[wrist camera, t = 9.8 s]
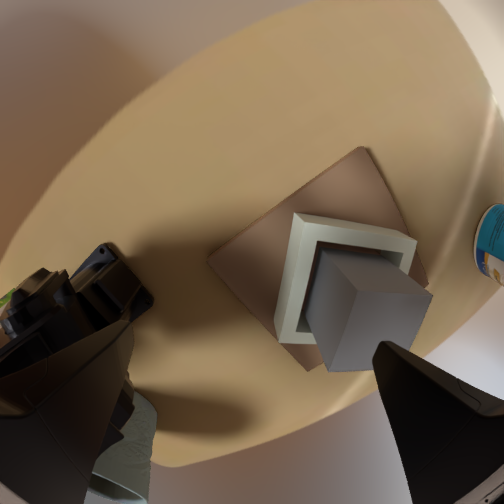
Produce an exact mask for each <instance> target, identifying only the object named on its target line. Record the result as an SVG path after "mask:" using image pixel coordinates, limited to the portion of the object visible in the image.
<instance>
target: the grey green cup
mask: <svg viewBox="0 0 504 504" xmlns="http://www.w3.org/2000/svg"><path fill="white" fill-rule="evenodd" d="M133 404H134V405H135V410H134V412H133V414H132V416H131V418H130V420H129V421H128V422H127V424H126V425H125V426H124V428H123V429H122V430H121V431H120V432H121V433H122V434H124V438H123V439H122V440H121V441H119V442H117V443H115V444H113V445H112V446H110V447H109V448H108V449H107V450H105V451H104V452H103V453H102V454H101V455H100V456H99V457H98V458H97V460H96V462H95V465H94V468H93V471H92V475H91V478H90V481H89V485H88V489H87V491H89V492H91V493H94V494H96V495H98V496H101V497H103V498H106V499H109V500H112V501H115V502H119V503H123V504H147V503H148V495H149V483H150V469H151V466H150V462H151V461H150V458H151V455H152V445H153V438H154V435H155V431H156V423H157V412H156V410H155V409H154V407H153V406H152V404H151V403H150V402H149V401H148V400H147V399H145V397H143V396H142V395H140V394H139V393H138V392H136V391H134V397H133Z"/></svg>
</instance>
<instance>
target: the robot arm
mask: <svg viewBox="0 0 504 504" xmlns="http://www.w3.org/2000/svg"><path fill="white" fill-rule="evenodd" d="M102 248H103V249H104V250H105V252H103V251H102ZM68 277H69V275H68V273H67V271H66V269H64V270H62V271H60V272H58V271H55V272H53V273H52V272H49V271H48V270H46V269H45V268H41V269H39V270H38V271H36V272H35V273H33V274H32V275H31V276H29V277H28V278H26V279H25V280H24V281H23V282H22V283H21V284H20V285H19V286H18V287H17V288H16V289H15V290H14V291H13V292H12V295H11V300H10V301H9V302H8V303H7V305H6V306H5V308H4V310H3V312H2V314H1V316H0V324H1V326H2V328H1V329H0V504H84V500H85V496H86V492H87V489H88V485H89V481H90V478H91V475H92V471H93V468H94V465H95V462H96V460H97V458H98V457H99V456H100V455H101V454H102V453H103V452H104V451H105V450H107V449H108V448H109V447H110V446H112V445H113V444H115V443H117V442H119V441H121V440H122V439H123V438H124V434H122V433H121V432H120V431H121V430H122V429H123V428H124V426H125V425H126V424H127V422H128V421H129V420H130V418H131V416H132V414H133V412H134V410H135V405H134V404H133V397H134V388H133V385H132V382H131V381H130V379H129V373H128V372H127V369H128V365H129V362H130V358H131V354H132V351H133V347H134V336H133V327H132V323H131V322H133V321H134V320H135V319H136V318H138V317H139V316H140V315H141V314H143V313H144V312H145V311H147V310H148V309H149V308H150V307H152V305H153V304H154V298H153V296H152V295H151V294H150V293H149V292H148V291H147V290H146V289H145V288H144V287H143V286H142V285H141V282H140V281H139V280H138V279H137V277H136V276H135V275H134V274H133V273H132V272H131V271H130V270H129V268H128V267H127V266H126V265H125V264H124V263H123V262H122V260H119V259H118V257H117V256H116V255H115V254H114V253H113V251H112V250H111V249H110V248H109V247H108V245H106V244H101V245H99V246H98V247H97V248H96V249H95V250H94V251H93V253H92V254H91V255H90V256H89V257H88V258H87V259H86V260H85V261H84V263H83V264H82V265H81V266H80V267H79V268H78V269H77V271H76V272H75V273H74V274H73V275H72V277H71V278H70V279H68ZM146 299H148V300H149V301H150V303H149V302H147V301H146ZM372 365H373V369H374V373H375V377H376V381H377V385H378V389H379V392H380V396H381V399H382V402H383V405H384V408H385V410H386V413H387V416H388V419H389V422H390V425H391V428H392V431H393V434H394V437H395V440H396V444H397V447H398V451H399V454H400V457H401V461H402V464H403V467H404V471H405V475H406V478H407V481H408V486H409V490H410V494H411V498H412V503H413V504H504V400H502V399H499V398H497V397H495V396H492V395H490V394H488V393H486V392H484V391H482V390H480V389H477V388H475V387H473V386H471V385H469V384H468V383H466V382H464V381H462V380H460V379H458V378H456V377H454V376H453V375H451V374H449V373H447V372H445V371H444V370H442V369H440V368H438V367H436V366H434V365H433V364H431V363H429V362H427V361H426V360H424V359H422V358H420V357H419V356H417V355H415V354H413V353H411V352H410V351H408V350H406V349H404V348H402V347H401V346H399V345H397V344H395V343H394V342H392V341H381V342H380V343H379V344H378V346H377V349H376V351H375V353H374V355H373V358H372Z"/></svg>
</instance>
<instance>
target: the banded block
mask: <svg viewBox="0 0 504 504" xmlns="http://www.w3.org/2000/svg"><path fill="white" fill-rule="evenodd" d="M432 297H433V295H432V294H431V293H429V292H428V291H427V290H426V289H424V288H423V287H422V286H421V285H419V284H418V283H417V282H416V281H414V280H413V279H412V278H411V277H409V276H408V275H407V274H405V273H404V272H403V271H402V270H400V269H399V268H398V267H396V266H395V265H394V264H392V263H391V262H390V261H388V260H387V259H386V258H384V257H383V256H382V255H380V254H379V253H378V252H376V251H375V250H373V249H370V248H363V247H356V246H350V245H343V244H336V243H329V242H322V241H317V243H316V248H315V253H314V257H313V262H312V266H311V271H310V275H309V280H308V284H307V288H306V292H305V296H304V300H303V304H302V309H303V312H304V314H305V316H306V319H307V321H308V324H309V326H310V329H311V331H312V333H313V336H314V338H315V341H316V343H317V346H318V348H319V351H320V353H321V356H322V358H323V361H324V363H325V366H326V368H327V371H328V372H347V371H365V370H374V369H373V365H372V358H373V355H374V353H375V351H376V349H377V346H378V344H379V343H380V342H381V341H392V342H394V343H395V344H397V345H399V346H401V347H402V348H404V349H406V350H408V351H409V349H410V347H411V345H412V343H413V341H414V339H415V337H416V335H417V332H418V330H419V328H420V326H421V324H422V321H423V319H424V317H425V314H426V312H427V309H428V307H429V304H430V302H431V299H432Z"/></svg>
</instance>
